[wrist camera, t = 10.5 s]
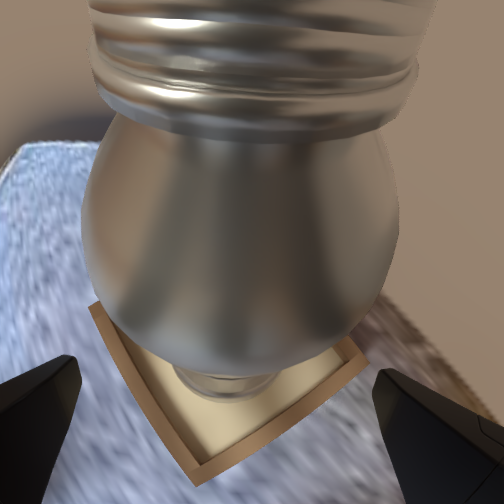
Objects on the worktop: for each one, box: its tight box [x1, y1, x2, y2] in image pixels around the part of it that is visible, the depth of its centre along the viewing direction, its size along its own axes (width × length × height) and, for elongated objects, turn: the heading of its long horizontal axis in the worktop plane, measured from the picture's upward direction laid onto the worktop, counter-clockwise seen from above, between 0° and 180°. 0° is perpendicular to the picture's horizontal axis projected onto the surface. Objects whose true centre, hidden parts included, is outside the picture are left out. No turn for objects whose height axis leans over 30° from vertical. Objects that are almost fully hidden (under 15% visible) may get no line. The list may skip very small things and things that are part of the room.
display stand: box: [88, 301, 370, 487], centre depth 20 cm, size 13×13×3 cm
